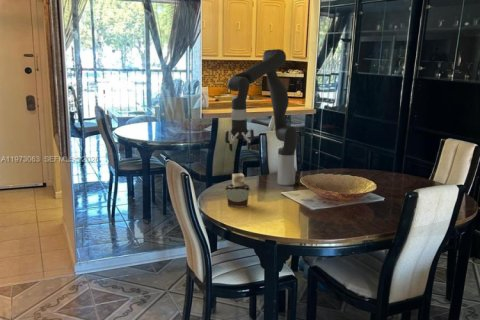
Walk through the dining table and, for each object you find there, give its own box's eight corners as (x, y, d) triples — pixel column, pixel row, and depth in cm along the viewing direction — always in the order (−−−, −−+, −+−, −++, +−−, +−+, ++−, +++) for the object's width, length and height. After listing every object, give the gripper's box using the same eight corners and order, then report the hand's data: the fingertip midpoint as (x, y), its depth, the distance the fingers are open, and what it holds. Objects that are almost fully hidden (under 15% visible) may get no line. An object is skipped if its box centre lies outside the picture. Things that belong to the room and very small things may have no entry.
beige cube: (242, 183, 218) (242, 173, 217) (244, 186, 214) (244, 176, 212) (232, 183, 217) (232, 173, 216) (234, 186, 213) (234, 176, 211)
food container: (251, 202, 220) (251, 183, 218) (250, 206, 214) (250, 187, 212) (226, 201, 221) (226, 182, 219) (224, 206, 215) (224, 186, 213)
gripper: (251, 116, 221) (251, 148, 226) (223, 117, 219) (224, 149, 223) (255, 118, 214) (255, 151, 218) (226, 120, 212) (226, 153, 216)
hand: (239, 150), depth 221 cm, fingers open, 8 cm apart
